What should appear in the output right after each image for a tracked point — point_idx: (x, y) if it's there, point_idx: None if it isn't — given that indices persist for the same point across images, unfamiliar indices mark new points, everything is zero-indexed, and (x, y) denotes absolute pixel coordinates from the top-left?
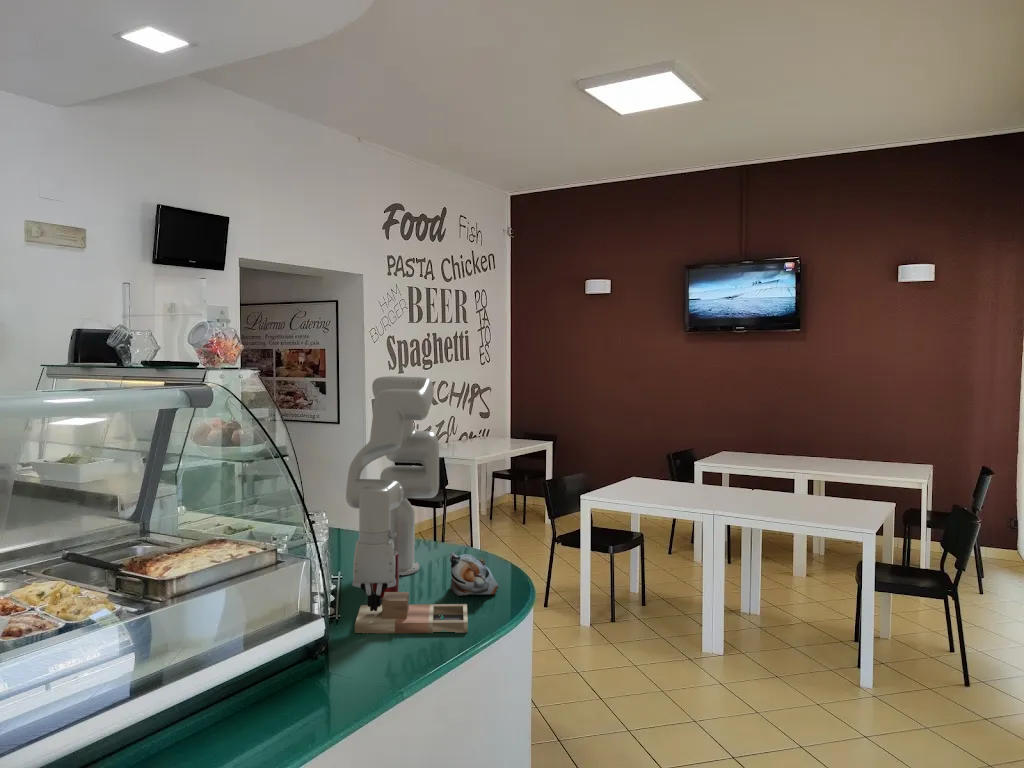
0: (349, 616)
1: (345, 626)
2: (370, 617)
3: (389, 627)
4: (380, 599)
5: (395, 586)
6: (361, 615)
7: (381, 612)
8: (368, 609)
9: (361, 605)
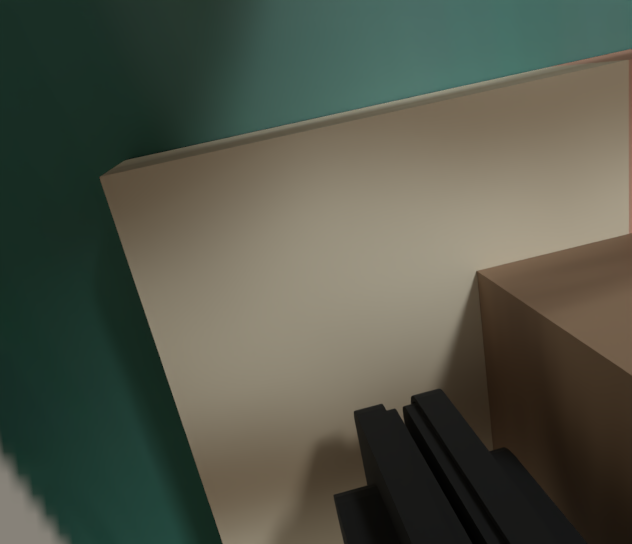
0: (13, 245)
1: (105, 482)
2: None
3: None
4: (544, 500)
5: None
6: (256, 497)
7: (458, 363)
8: (275, 318)
9: (117, 199)
